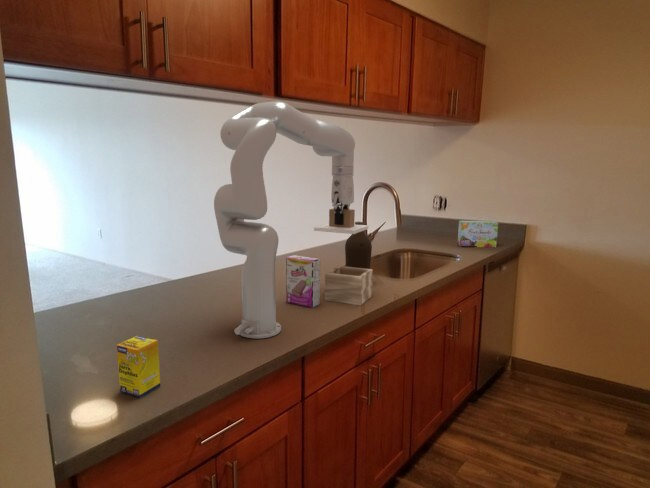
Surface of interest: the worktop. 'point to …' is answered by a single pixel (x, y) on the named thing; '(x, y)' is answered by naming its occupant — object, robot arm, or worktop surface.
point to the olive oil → (358, 250)
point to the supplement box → (138, 366)
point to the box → (348, 285)
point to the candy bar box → (303, 281)
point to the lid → (347, 225)
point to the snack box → (477, 233)
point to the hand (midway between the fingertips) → (341, 223)
